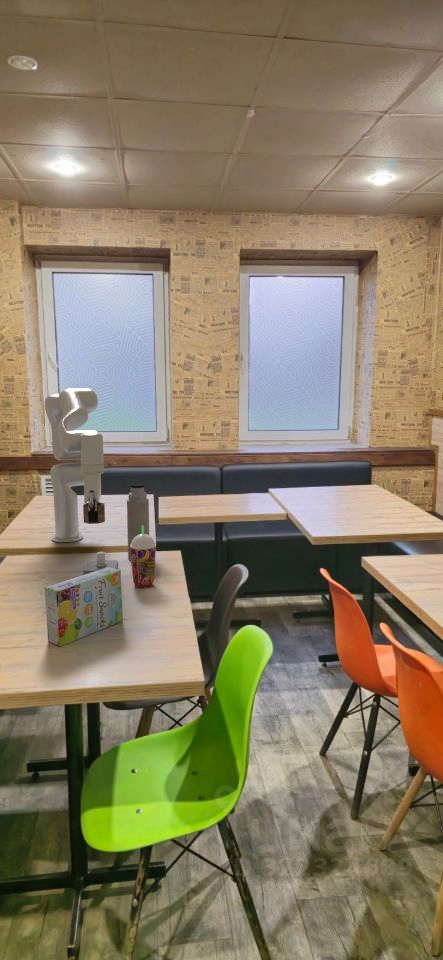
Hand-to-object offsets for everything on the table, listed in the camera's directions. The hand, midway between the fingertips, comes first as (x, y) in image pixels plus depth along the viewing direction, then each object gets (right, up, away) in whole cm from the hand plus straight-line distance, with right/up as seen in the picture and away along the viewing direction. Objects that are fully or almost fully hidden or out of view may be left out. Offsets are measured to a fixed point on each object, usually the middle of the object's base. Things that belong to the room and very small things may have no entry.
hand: (94, 519), depth 210 cm
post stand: (+2, -18, +3) cm, 18 cm away
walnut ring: (0, -1, 0) cm, 1 cm away
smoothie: (+19, -21, -13) cm, 31 cm away
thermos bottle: (+13, -16, +16) cm, 26 cm away
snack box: (+8, -27, -48) cm, 55 cm away
